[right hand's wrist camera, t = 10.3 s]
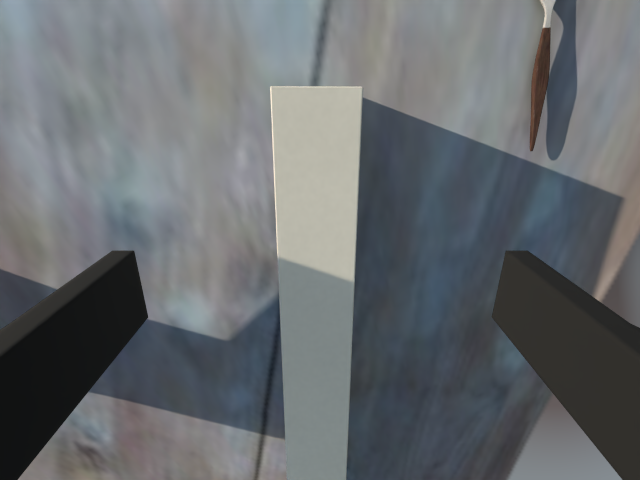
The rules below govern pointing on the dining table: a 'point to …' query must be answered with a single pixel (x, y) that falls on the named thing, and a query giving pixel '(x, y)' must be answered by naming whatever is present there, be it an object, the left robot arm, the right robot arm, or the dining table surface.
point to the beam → (316, 268)
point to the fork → (540, 72)
